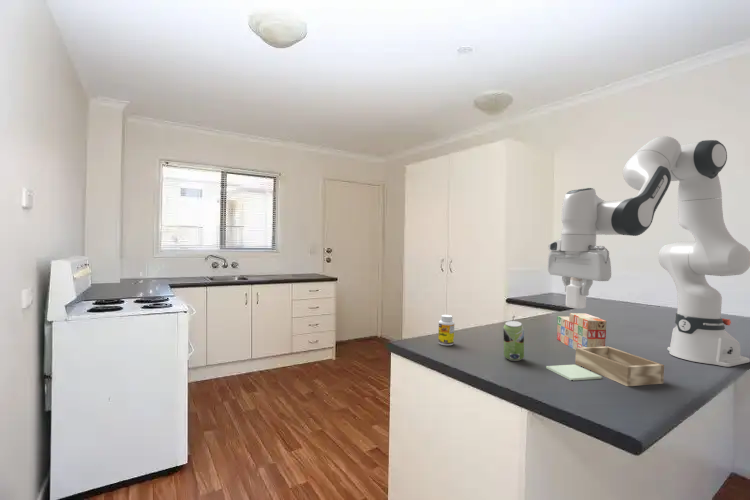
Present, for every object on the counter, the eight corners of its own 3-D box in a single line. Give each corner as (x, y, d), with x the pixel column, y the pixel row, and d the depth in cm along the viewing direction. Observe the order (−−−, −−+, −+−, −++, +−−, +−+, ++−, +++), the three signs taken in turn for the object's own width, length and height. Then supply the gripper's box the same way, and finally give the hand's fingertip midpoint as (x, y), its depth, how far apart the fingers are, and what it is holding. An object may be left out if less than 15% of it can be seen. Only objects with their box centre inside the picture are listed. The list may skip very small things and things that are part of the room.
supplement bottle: (434, 343, 135) (435, 315, 135) (445, 341, 138) (446, 313, 138) (446, 346, 130) (447, 317, 130) (457, 344, 133) (457, 316, 133)
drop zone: (574, 366, 113) (574, 364, 112) (601, 378, 103) (601, 376, 103) (546, 368, 110) (546, 366, 110) (571, 380, 100) (571, 378, 100)
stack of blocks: (556, 339, 145) (557, 308, 145) (572, 340, 145) (573, 308, 144) (586, 356, 123) (587, 319, 123) (605, 357, 123) (606, 320, 123)
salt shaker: (586, 308, 105) (588, 274, 105) (577, 309, 103) (578, 275, 103) (573, 306, 109) (574, 273, 109) (564, 306, 107) (565, 273, 107)
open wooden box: (607, 362, 118) (608, 346, 118) (663, 383, 100) (664, 365, 100) (575, 363, 115) (575, 347, 115) (627, 386, 97) (627, 367, 97)
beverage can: (524, 357, 120) (525, 320, 120) (523, 364, 113) (524, 325, 113) (503, 354, 122) (505, 318, 122) (501, 361, 116) (502, 322, 116)
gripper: (618, 246, 96) (616, 299, 97) (562, 245, 116) (560, 289, 117) (598, 245, 95) (596, 299, 95) (544, 244, 115) (543, 289, 115)
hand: (576, 293), depth 106 cm, fingers closed on salt shaker, 4 cm apart
